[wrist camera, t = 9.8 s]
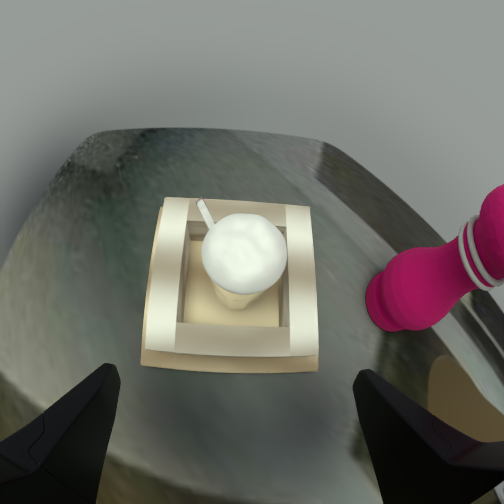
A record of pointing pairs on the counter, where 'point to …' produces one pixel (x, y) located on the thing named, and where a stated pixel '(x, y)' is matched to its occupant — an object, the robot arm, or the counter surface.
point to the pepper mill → (440, 272)
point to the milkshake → (242, 256)
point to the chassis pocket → (215, 313)
